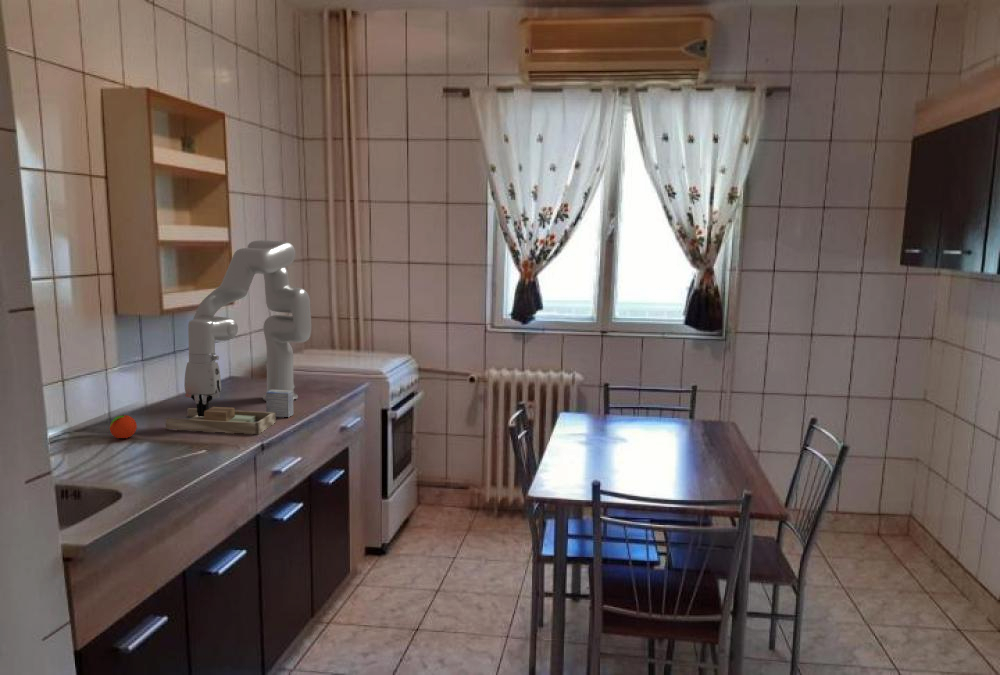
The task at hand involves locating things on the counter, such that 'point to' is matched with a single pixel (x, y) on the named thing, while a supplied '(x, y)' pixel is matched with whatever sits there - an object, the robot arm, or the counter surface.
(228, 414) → the walnut block
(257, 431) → the tray
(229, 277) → the robot arm
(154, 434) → the counter surface
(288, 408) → the medicine box
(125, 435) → the clementine
